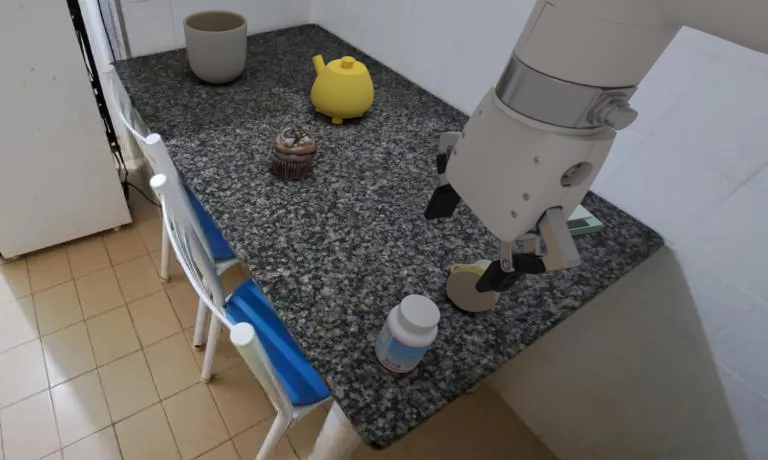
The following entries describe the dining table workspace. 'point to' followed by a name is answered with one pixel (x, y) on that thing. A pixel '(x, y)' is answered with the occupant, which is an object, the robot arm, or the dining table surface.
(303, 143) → the cupcake
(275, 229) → the dining table surface
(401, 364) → the pill bottle
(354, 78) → the teapot
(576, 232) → the scale
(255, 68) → the dining table surface
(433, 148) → the dining table surface
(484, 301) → the white floral pitcher
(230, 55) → the planter
